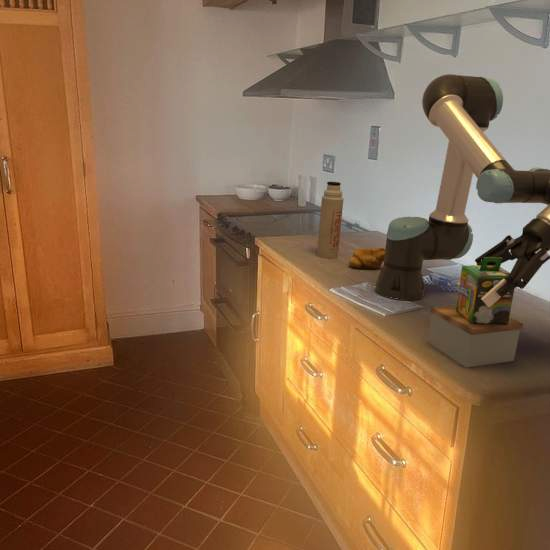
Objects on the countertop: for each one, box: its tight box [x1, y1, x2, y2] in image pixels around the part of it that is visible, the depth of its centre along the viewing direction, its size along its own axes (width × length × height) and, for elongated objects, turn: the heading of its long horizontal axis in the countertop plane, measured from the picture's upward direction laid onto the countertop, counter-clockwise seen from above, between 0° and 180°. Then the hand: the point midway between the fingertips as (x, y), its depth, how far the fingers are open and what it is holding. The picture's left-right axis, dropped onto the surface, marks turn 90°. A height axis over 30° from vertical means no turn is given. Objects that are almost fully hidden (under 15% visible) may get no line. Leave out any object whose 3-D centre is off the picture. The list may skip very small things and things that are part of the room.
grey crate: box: [427, 312, 521, 368], centre depth 131 cm, size 14×14×8 cm
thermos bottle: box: [316, 181, 344, 260], centre depth 206 cm, size 8×8×28 cm
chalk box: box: [456, 257, 515, 324], centre depth 126 cm, size 9×9×15 cm
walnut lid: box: [430, 304, 524, 334], centre depth 130 cm, size 15×14×1 cm
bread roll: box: [348, 247, 385, 270], centre depth 197 cm, size 13×10×8 cm
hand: (472, 295), depth 126 cm, fingers closed on chalk box, 9 cm apart
